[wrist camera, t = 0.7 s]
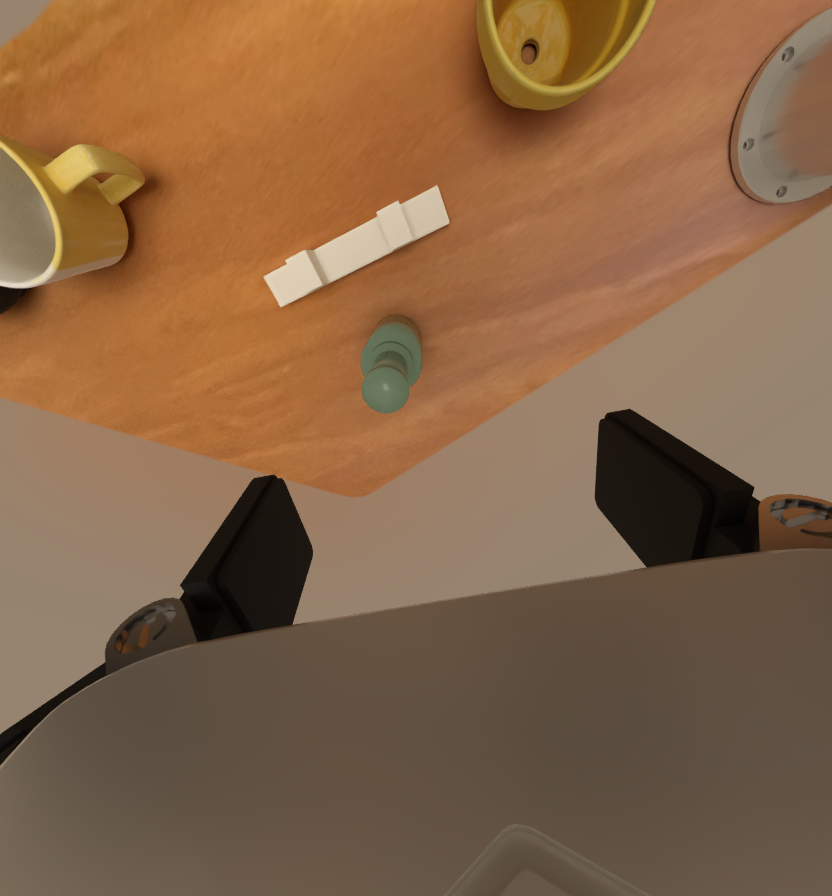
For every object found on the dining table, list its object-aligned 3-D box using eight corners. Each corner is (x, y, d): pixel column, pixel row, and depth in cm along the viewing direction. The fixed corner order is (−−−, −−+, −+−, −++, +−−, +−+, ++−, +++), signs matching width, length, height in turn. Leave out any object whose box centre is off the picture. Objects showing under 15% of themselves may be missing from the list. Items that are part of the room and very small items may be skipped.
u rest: (436, 189, 33) (439, 178, 28) (447, 224, 34) (452, 219, 29) (271, 275, 36) (250, 278, 32) (287, 304, 37) (270, 311, 33)
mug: (82, 290, 37) (-30, 302, 28) (9, 168, 32) (-155, 134, 23) (204, 259, 35) (130, 261, 26) (147, 128, 31) (32, 74, 21)
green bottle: (408, 306, 38) (404, 340, 23) (427, 351, 40) (435, 409, 25) (364, 326, 39) (332, 371, 24) (385, 369, 41) (368, 436, 26)
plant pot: (560, 154, 32) (615, 116, 23) (448, 120, 30) (461, 66, 22) (617, -17, 27) (713, -146, 18) (486, -65, 26) (522, -227, 17)
